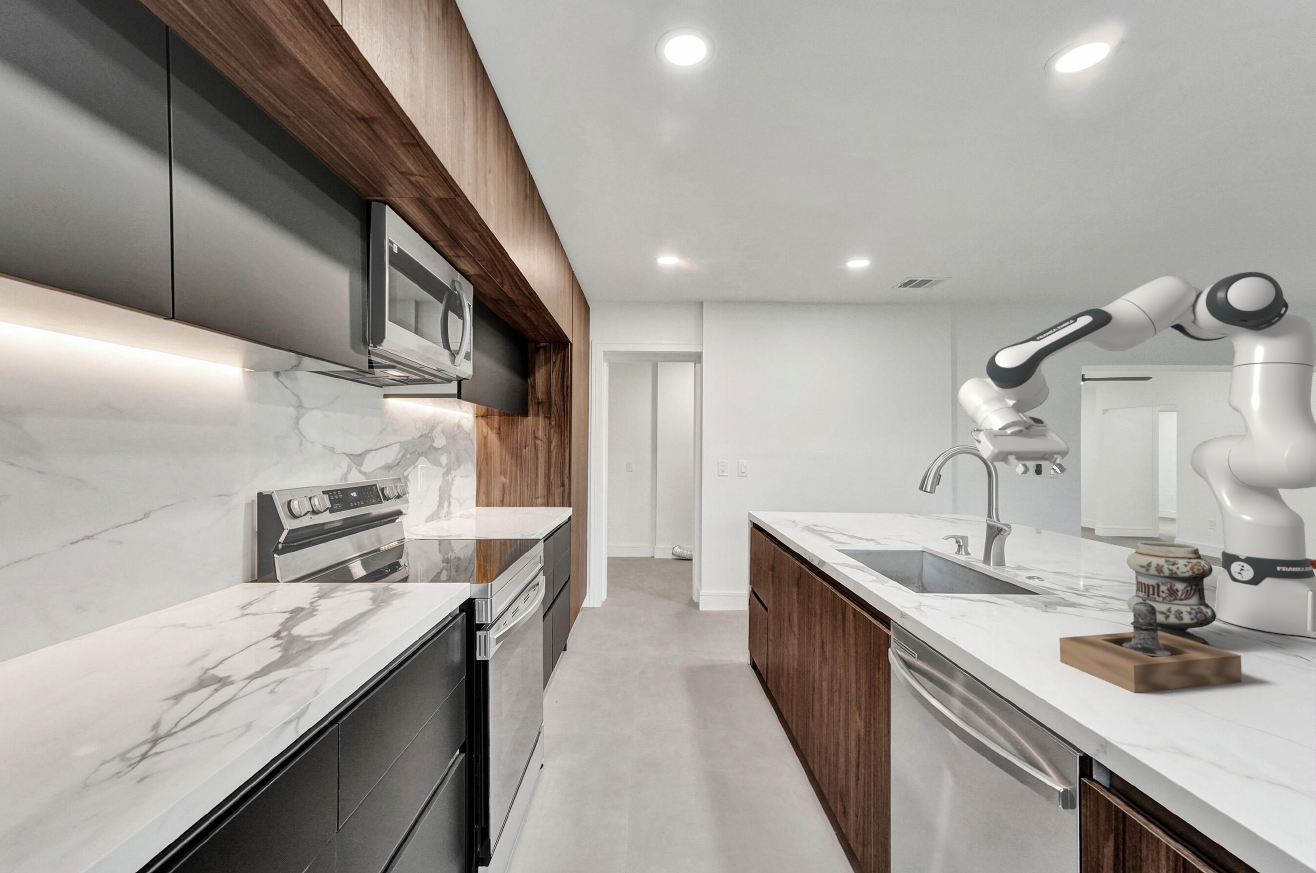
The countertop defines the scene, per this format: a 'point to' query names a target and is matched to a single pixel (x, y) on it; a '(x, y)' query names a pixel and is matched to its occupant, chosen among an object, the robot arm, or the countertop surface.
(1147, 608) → the salt shaker
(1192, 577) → the apothecary jar
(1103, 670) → the wooden tray
